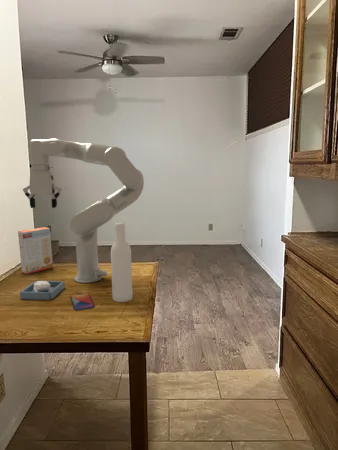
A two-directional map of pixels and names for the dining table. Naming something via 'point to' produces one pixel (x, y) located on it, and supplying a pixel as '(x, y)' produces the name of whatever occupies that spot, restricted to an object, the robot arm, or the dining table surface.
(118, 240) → the bottle
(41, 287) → the garlic
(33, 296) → the tray
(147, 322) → the dining table surface
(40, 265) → the cracker box
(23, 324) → the dining table surface
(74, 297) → the smartphone
